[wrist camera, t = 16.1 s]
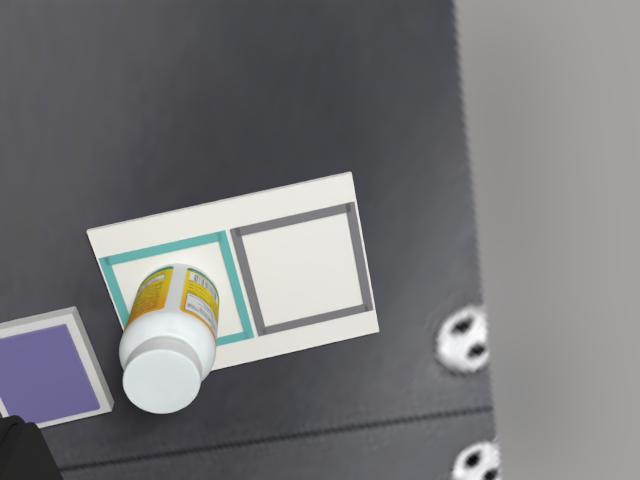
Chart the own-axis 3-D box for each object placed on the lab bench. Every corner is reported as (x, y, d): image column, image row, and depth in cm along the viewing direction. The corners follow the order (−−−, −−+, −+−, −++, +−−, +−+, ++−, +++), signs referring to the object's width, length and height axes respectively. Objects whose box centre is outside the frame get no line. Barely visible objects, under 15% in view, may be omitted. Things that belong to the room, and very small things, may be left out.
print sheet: (87, 229, 39) (85, 232, 38) (350, 171, 39) (351, 173, 39) (144, 382, 43) (143, 387, 43) (377, 328, 44) (379, 332, 44)
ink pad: (-31, 330, 40) (-39, 340, 39) (75, 306, 41) (70, 315, 39) (16, 425, 43) (10, 437, 42) (114, 402, 44) (111, 413, 43)
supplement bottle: (223, 265, 40) (220, 343, 32) (214, 335, 42) (209, 427, 33) (139, 256, 39) (111, 334, 31) (134, 328, 41) (106, 422, 33)
